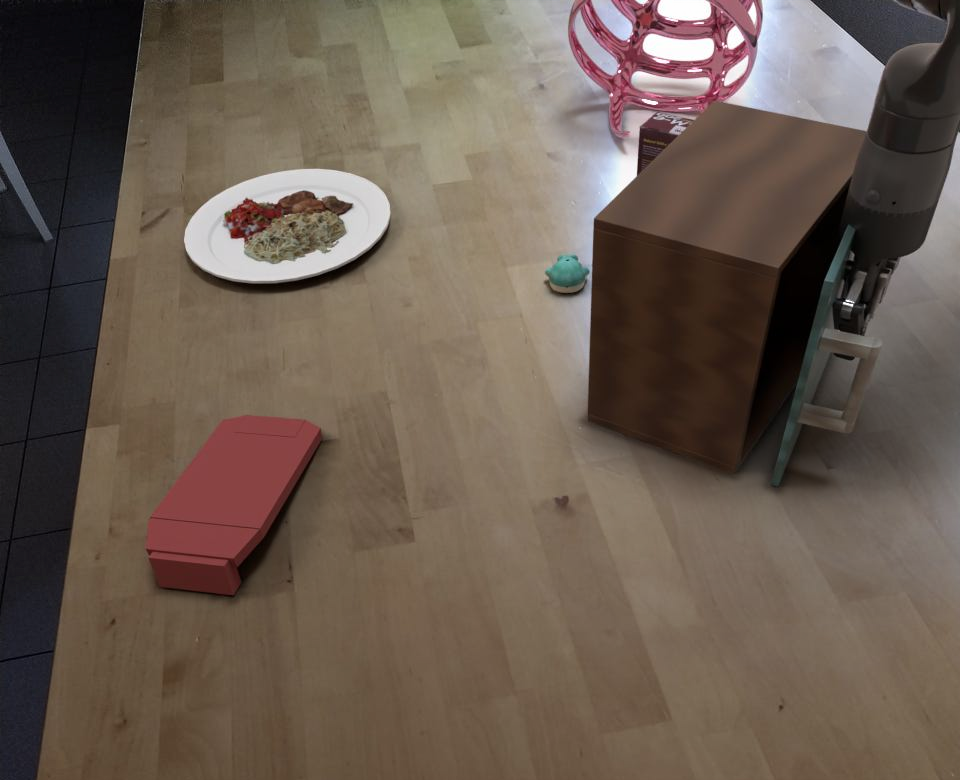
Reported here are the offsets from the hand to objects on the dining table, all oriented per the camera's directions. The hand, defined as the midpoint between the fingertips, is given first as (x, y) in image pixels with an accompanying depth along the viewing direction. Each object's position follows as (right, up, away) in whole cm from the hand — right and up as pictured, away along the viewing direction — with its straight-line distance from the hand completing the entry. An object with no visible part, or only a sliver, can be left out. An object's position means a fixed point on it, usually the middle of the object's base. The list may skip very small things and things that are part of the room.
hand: (845, 354), depth 92 cm
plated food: (-65, +30, +39) cm, 82 cm away
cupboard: (-11, +1, +13) cm, 17 cm away
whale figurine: (-26, +18, +27) cm, 42 cm away
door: (+1, -4, +8) cm, 9 cm away
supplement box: (-12, +24, +30) cm, 40 cm away
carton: (-64, -14, +7) cm, 66 cm away
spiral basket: (-9, +53, +51) cm, 74 cm away
